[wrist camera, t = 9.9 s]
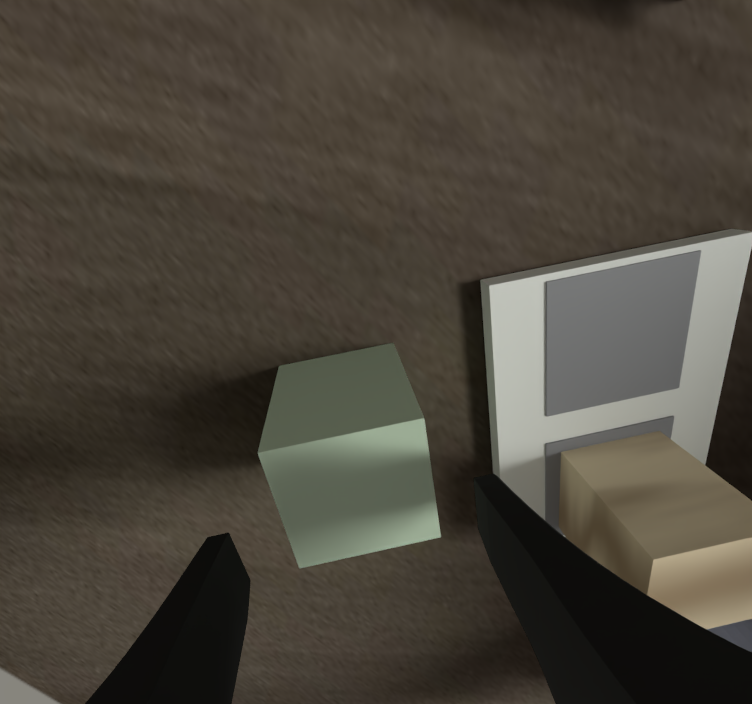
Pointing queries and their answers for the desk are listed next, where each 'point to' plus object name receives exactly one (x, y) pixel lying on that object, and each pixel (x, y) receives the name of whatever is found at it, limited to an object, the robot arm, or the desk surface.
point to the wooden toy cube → (661, 525)
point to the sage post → (348, 456)
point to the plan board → (608, 354)
